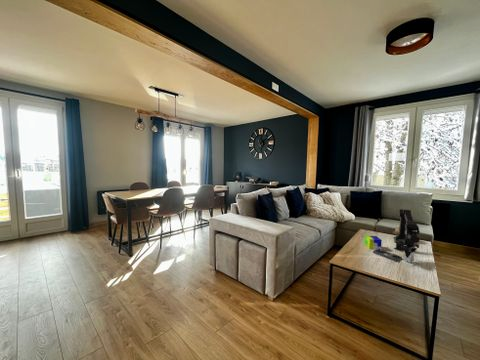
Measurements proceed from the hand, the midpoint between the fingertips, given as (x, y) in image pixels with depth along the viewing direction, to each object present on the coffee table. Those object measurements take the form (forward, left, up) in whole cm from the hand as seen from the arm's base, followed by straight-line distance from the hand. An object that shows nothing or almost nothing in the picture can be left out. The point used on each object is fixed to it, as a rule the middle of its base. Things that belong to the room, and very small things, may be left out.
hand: (408, 256), depth 162 cm
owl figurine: (-53, -26, -5) cm, 59 cm away
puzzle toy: (-4, -30, -5) cm, 31 cm away
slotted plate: (+3, -14, -5) cm, 15 cm away
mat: (0, 0, -5) cm, 5 cm away
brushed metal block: (0, 0, -3) cm, 3 cm away
